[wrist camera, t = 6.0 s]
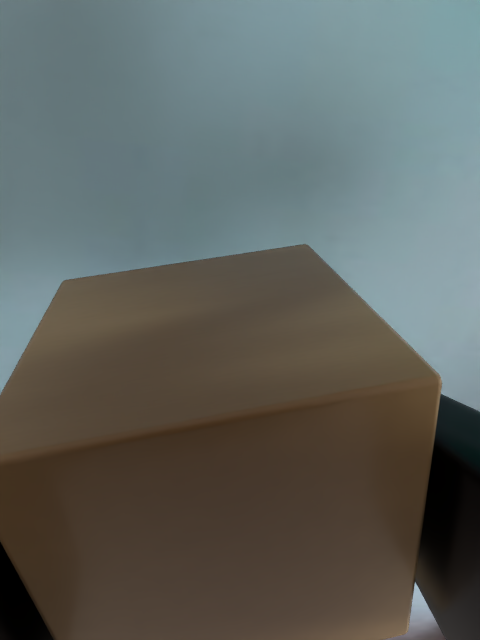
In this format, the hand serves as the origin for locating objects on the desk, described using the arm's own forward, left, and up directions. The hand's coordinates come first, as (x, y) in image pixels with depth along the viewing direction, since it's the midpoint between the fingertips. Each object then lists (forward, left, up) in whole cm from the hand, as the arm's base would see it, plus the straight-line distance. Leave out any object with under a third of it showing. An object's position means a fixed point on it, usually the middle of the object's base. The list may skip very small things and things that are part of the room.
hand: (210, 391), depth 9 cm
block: (0, 0, -1) cm, 1 cm away
